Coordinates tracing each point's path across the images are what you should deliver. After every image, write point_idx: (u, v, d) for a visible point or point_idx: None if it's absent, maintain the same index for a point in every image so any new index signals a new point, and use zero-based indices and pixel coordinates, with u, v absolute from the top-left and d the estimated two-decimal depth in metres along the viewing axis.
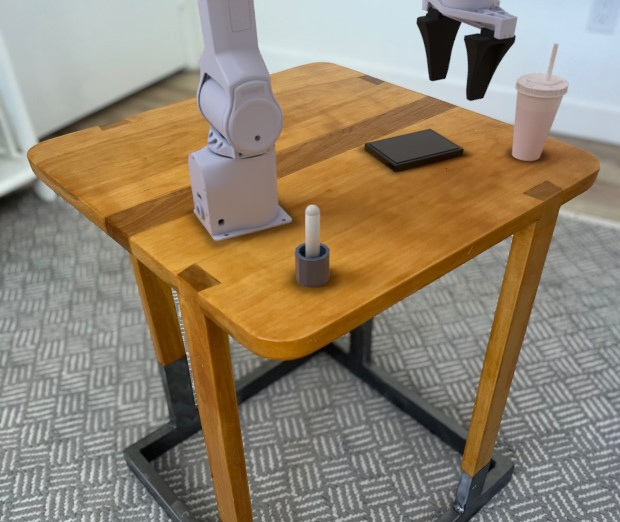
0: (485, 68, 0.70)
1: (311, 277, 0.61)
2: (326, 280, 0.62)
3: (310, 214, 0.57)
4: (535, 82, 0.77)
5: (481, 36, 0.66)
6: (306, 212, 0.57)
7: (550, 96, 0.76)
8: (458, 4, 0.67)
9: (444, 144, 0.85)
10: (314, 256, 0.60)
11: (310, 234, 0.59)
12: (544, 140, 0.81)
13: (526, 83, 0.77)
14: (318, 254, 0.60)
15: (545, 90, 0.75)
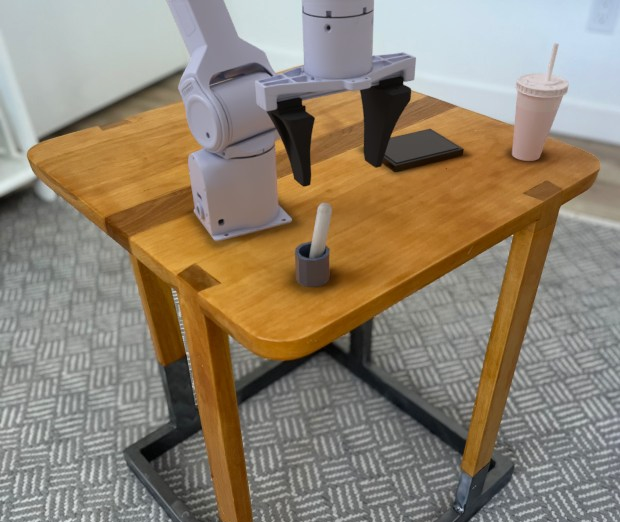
0: None
1: (311, 277, 0.61)
2: (326, 280, 0.62)
3: (323, 211, 0.58)
4: (535, 82, 0.77)
5: None
6: (319, 209, 0.58)
7: (550, 95, 0.76)
8: None
9: (444, 144, 0.85)
10: (319, 255, 0.60)
11: (319, 232, 0.59)
12: (544, 140, 0.81)
13: (526, 83, 0.77)
14: (323, 254, 0.61)
15: (545, 90, 0.75)
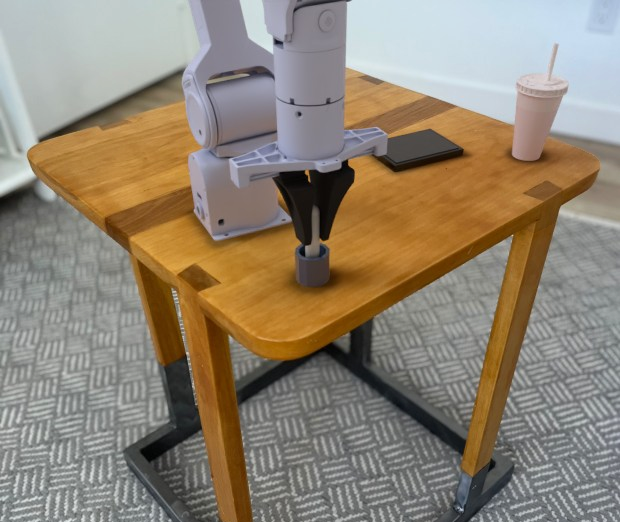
0: None
1: (311, 277, 0.61)
2: (326, 280, 0.62)
3: None
4: (535, 82, 0.77)
5: None
6: None
7: (550, 95, 0.76)
8: None
9: (444, 144, 0.85)
10: (314, 256, 0.60)
11: None
12: (544, 140, 0.81)
13: (526, 83, 0.77)
14: (318, 254, 0.60)
15: (545, 90, 0.75)
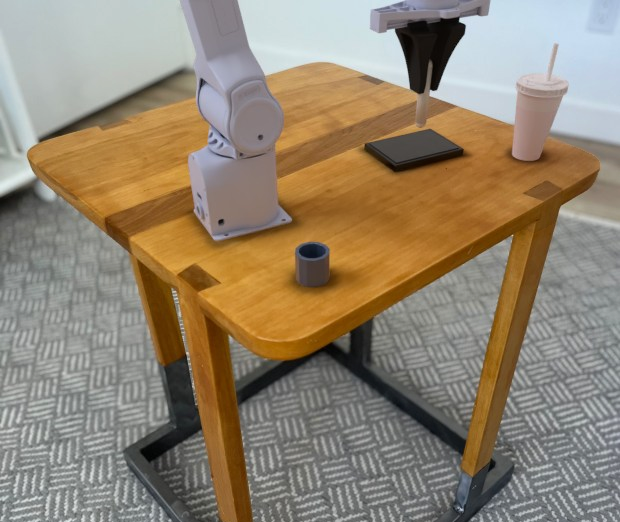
0: (417, 61, 0.71)
1: (311, 277, 0.61)
2: (326, 280, 0.62)
3: None
4: (535, 82, 0.77)
5: None
6: None
7: (550, 95, 0.76)
8: None
9: (444, 144, 0.85)
10: (424, 106, 0.74)
11: None
12: (544, 140, 0.81)
13: (526, 83, 0.77)
14: (427, 104, 0.74)
15: (545, 90, 0.75)
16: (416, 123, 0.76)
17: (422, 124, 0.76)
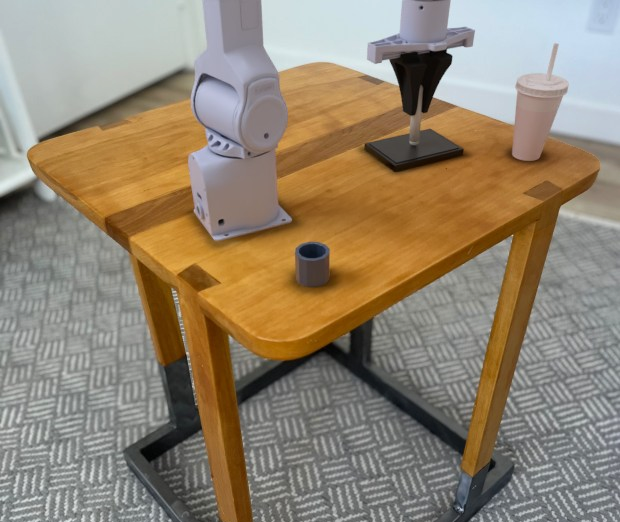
0: (409, 87, 0.79)
1: (311, 277, 0.61)
2: (326, 280, 0.62)
3: None
4: (535, 82, 0.77)
5: None
6: None
7: (550, 95, 0.76)
8: None
9: (444, 144, 0.85)
10: (417, 125, 0.82)
11: None
12: (544, 140, 0.81)
13: (526, 83, 0.77)
14: (420, 124, 0.82)
15: (545, 90, 0.75)
16: (410, 141, 0.84)
17: (416, 142, 0.84)
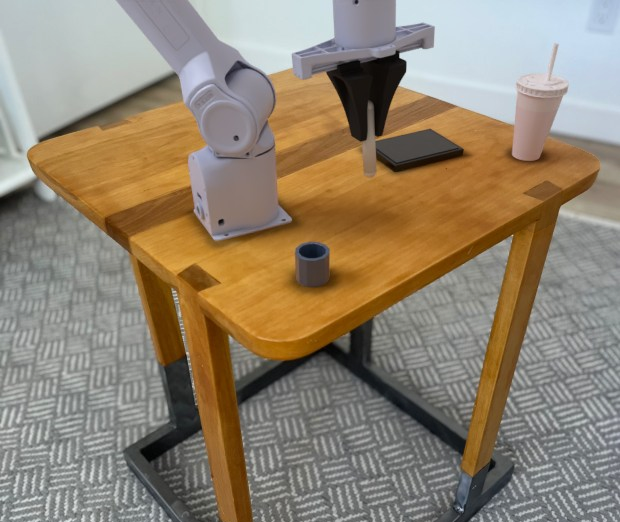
0: None
1: (311, 277, 0.61)
2: (326, 280, 0.62)
3: None
4: (535, 82, 0.77)
5: None
6: None
7: (550, 95, 0.76)
8: None
9: (444, 144, 0.85)
10: (371, 153, 0.64)
11: None
12: (544, 140, 0.81)
13: (526, 83, 0.77)
14: (374, 151, 0.64)
15: (545, 90, 0.75)
16: (365, 173, 0.66)
17: (371, 173, 0.66)
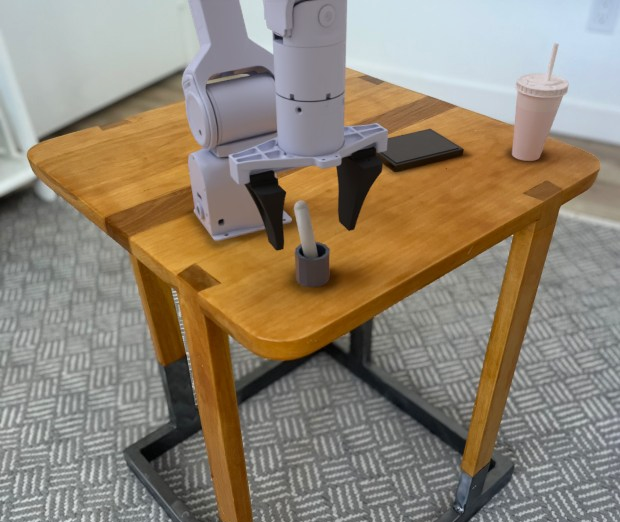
0: None
1: (311, 277, 0.61)
2: (326, 280, 0.62)
3: (298, 208, 0.59)
4: (535, 82, 0.77)
5: None
6: (294, 208, 0.59)
7: (550, 95, 0.76)
8: None
9: (444, 144, 0.85)
10: (311, 253, 0.60)
11: (302, 230, 0.60)
12: (544, 140, 0.81)
13: (526, 83, 0.77)
14: (315, 251, 0.61)
15: (545, 90, 0.75)
16: None
17: None
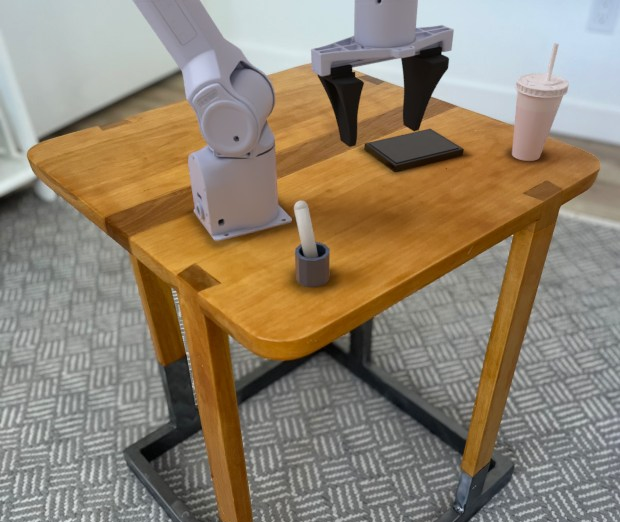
0: None
1: (311, 277, 0.61)
2: (326, 280, 0.62)
3: (298, 208, 0.59)
4: (535, 82, 0.77)
5: None
6: (294, 208, 0.59)
7: (550, 95, 0.76)
8: None
9: (444, 144, 0.85)
10: (311, 253, 0.60)
11: (302, 230, 0.60)
12: (544, 140, 0.81)
13: (526, 83, 0.77)
14: (315, 251, 0.61)
15: (545, 90, 0.75)
16: None
17: None
